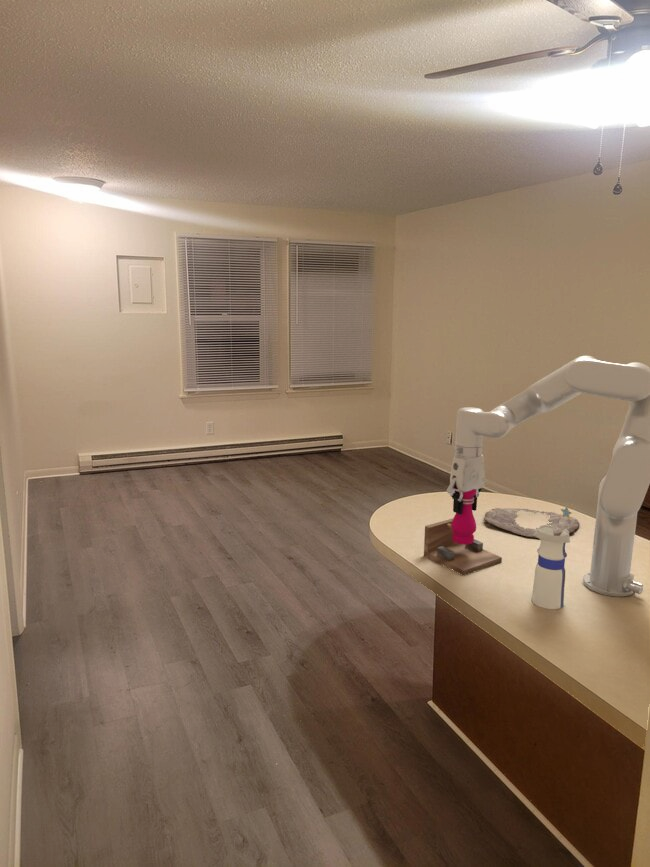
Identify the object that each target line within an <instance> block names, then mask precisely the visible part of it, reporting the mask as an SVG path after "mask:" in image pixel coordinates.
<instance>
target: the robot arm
mask: <svg viewBox="0 0 650 867" xmlns="http://www.w3.org/2000/svg"><path fill="white" fill-rule="evenodd" d="M581 394H585V395H591V396H595V397H601V398H609V399H613V400H614V399H615V400H620V401H625V402H628V410H627V412H626V415H625V419H624V422H623V426H622V428H621V431H620V433H619V436H618V438H617V440H616V443H615V445H614V446H613V450H612V458H611V461H610V464H609V466H608V469H607V473H606V475H605V476H604V477H603V478H601V479H602V480H601V481H600V483H599V486H598V494H597V495H598V496H597V507H596V516H595V517H596V518H595V525H594V535H593V541H592V543H593V544H592V551H591V552H592V554H591V563H590V571H589V572H588V573H585V575H584V576H583V578H582V583H583V585H584V586H585V587H587V588H588V589H589V590H591V591H593V592H595V593H598V594H601V595H605V596H610V597H628V596H631V595H633V594H634V593H635V594H637V595H642V593H643V592H644V588H643V587H644V585H643V584H642V583H640V582H639V581H638V582H637V581H635V579H634V577H635V574H634V573H633V574H632V573H631V567H632V560H633V552H634V544H635V537H636V528H637V521H638V520H637V519H638V512H639V511H640V509H641V507H642V505H643V502H644V500H645V497H646V494H647V493H648V489H649V486H650V367H649V366H648V365H647V364H645V363H642V362H638V361H636V362H634V361H633V362H629V363H627V364H622V363H614V362H608V361H604V360H603V361H602V360H599V359H597V358H595V357H594V356H592V355H581V356H578V357H575V358H574V359H572V360H571V361H569V362H568V363H566V364H563V365H562V366H561V367H560V368H557V369H556V370H554V371H553V372H550V373H549V374H548V375H546V376H544V377H542V378H541V379H539V380H538V381H536V382H535V383H533V384H531V385H530V386H528V387H527V388H526V389H524V390H523V391H521V392H520V393H518V394H516V395H515V396H512V397H511V398H509V399H508V400H506V401H504V402H502V403H501V404H499V405H497V406H496V407H495V408H493V409H492V410H490V411H484V410H483V409H482V408H479V407H470V406H469V407H464V406H463V407H460V408H459V409H458V410H457V413H456V423H455V424H456V428H455V442H454V443H455V445H454V449H453V453H454V456H453V458H452V463H451V467H450V476H449V477H450V478H449V485H448V487H447V489H446V493H447V494H449V495H450V497H451V498H452V500H453V503H452V504H453V505H452V511H453V513H455V514H456V513H458V514H462V513H463V501H461V500H462V497H463V492H468V491H471V490H473V489H476V490H477V491H476V494H475V495H474V496H473V497H474V503H472V511H477V506H478V497H479V496H480V493H481V491H482V489H483V488H484V486H485V485H486V481H485V479H486V478H485V477H486V469H485V466H486V465H485V458H484V455H483V454H482V453H483V443H484V442H483V440H484V437H487V438H490V439H501V438H504V437H506V435H508V433H509V432H510V431H511V430H512V429H513V428H515V427H517V426H518V425H520V424H521V423H524V422H525V421H527V420H529V419H531V418H533V417H535V416H537V415H539V414H542V413H548V412H551V411H553V410H555V409H557V408H559V407H560V406H562V405H564V404H566V403H567V402H568V401H571V400H573V399H575V398H576V397H577V396H580V395H581ZM457 488H458V489H457ZM457 491H458V492H459V495H458V494H457Z"/></svg>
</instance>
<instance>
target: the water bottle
mask: <svg viewBox="0 0 650 867" xmlns="http://www.w3.org/2000/svg"><path fill="white" fill-rule="evenodd" d="M560 511H561V512H562V513H563V514H562V515H563V516H562V517H567V518H568V519H570V517H571V516H570V515H571V514H573V513H574V512H573V511H571V510H569V508H568V506H565V508H564V509H563V508H560ZM538 527H539V528H538ZM538 527H537V528H538V529H537V530H536V529H535V530H536V532H535V533H534V536H536V537H537V539H540V540H539V541H540V545H539V547H538V548H537V550H536V552H537V555H538V558H537V564H536V565H535V569H534V570H535V571H534V579H533V587H532V588H533V589H532V594H531V602H532V603H533V604H534V605H536V606H537V607H539V608H542V609H547V610H557V609H558V610H559V609H561V608H563V607H564V604H565V584H566V582H565V581H566V568H565V563H566V558H567V556H568V554H567V552H566V543H567V544H568V543H571V539H570V533H569V531H568V530H567V529H564V530H563V532H562V533H561V535H560V536H554V534H553V529H552V527H551V526H550V525H547V524H542V525H540V526H538Z"/></svg>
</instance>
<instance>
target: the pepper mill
mask: <svg viewBox="0 0 650 867" xmlns="http://www.w3.org/2000/svg"><path fill="white" fill-rule="evenodd" d="M457 489H458V488H457ZM476 491H477V490H476V489H473V490H471V491H468V492H463V497H462V500H461V501H463V513H462V514H458V513H455V515H454V516H453V520H452V524H451V528H452V530H453V532H454V533H453V534H452V540H453V541H454V542H455V543H458V544H464V545H467V544H472V543H473V542H474V539H475V535H474V533H475V532H476V530H477V522H476V519H475V516H474V513H473V510H472V503H474V497H473V496H474V495H475V494H476ZM457 494H458V495H459V492H458V491H457Z"/></svg>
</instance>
